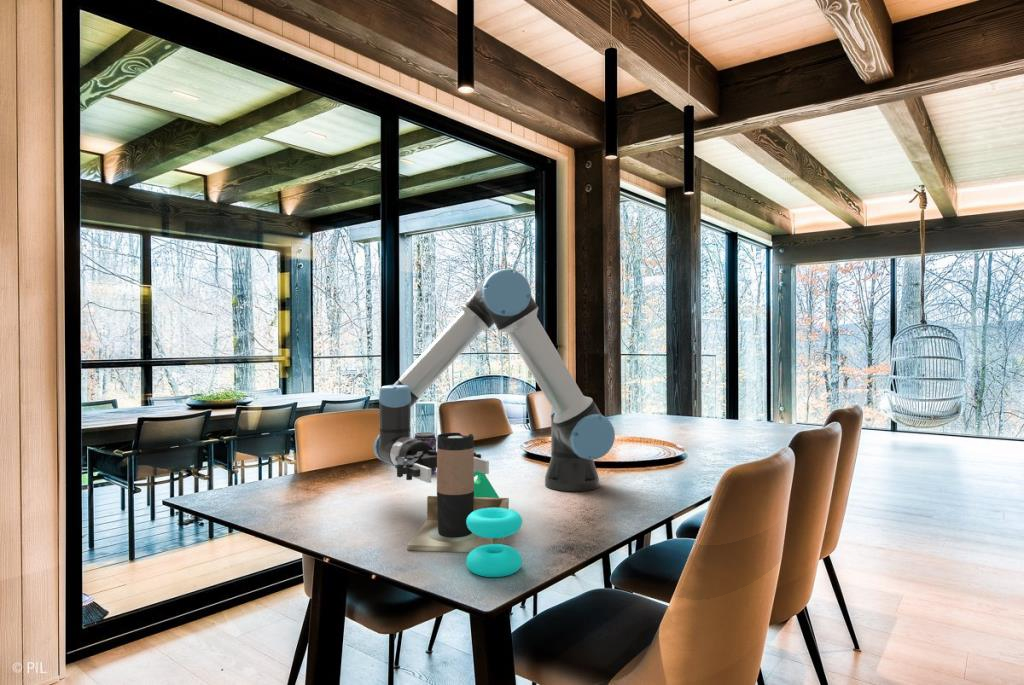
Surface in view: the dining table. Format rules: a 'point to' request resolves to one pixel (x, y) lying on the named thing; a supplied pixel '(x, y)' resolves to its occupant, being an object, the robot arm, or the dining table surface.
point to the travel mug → (454, 483)
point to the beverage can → (427, 441)
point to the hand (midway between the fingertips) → (459, 471)
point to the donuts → (494, 556)
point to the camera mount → (483, 486)
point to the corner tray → (433, 541)
